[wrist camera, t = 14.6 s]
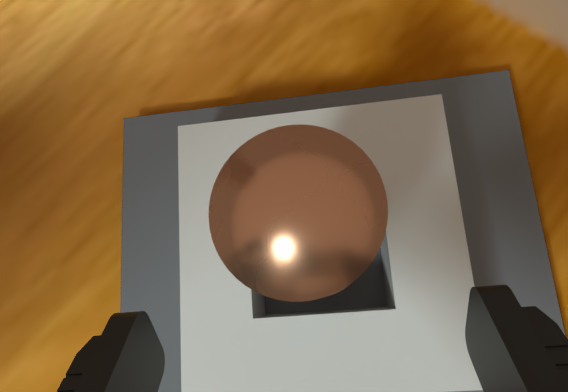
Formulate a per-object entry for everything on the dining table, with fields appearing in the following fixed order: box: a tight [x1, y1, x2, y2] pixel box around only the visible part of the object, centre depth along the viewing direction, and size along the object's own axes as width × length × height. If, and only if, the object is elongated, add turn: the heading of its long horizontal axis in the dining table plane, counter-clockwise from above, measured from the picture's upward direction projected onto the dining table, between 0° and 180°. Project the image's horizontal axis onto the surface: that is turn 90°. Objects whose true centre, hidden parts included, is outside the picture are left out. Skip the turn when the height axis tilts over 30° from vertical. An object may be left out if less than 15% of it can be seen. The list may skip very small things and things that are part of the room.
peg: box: [208, 124, 388, 302], centre depth 15 cm, size 4×4×11 cm
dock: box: [120, 70, 565, 392], centre depth 19 cm, size 20×16×4 cm
